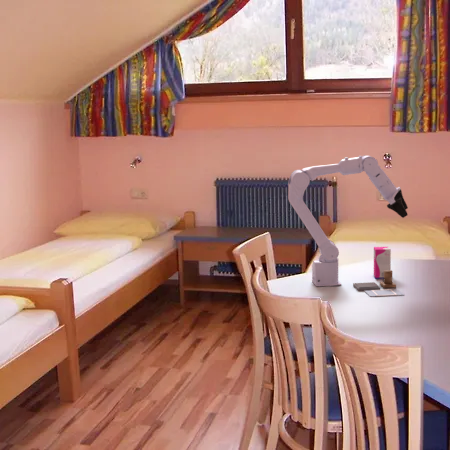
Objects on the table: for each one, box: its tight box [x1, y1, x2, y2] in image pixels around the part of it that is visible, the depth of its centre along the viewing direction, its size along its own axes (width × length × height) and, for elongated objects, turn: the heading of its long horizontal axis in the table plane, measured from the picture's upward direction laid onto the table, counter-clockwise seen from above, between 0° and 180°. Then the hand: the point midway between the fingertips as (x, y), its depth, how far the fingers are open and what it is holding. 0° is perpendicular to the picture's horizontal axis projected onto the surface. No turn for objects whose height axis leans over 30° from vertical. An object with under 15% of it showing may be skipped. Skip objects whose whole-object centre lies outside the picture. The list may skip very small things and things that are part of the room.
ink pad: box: [352, 281, 381, 292], centre depth 249 cm, size 8×7×1 cm
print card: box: [364, 288, 405, 298], centre depth 241 cm, size 12×7×1 cm, turn 94°
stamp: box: [379, 269, 397, 290], centre depth 249 cm, size 4×4×6 cm
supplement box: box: [373, 246, 392, 280], centre depth 263 cm, size 6×6×12 cm
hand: (405, 212), depth 251 cm, fingers open, 7 cm apart
